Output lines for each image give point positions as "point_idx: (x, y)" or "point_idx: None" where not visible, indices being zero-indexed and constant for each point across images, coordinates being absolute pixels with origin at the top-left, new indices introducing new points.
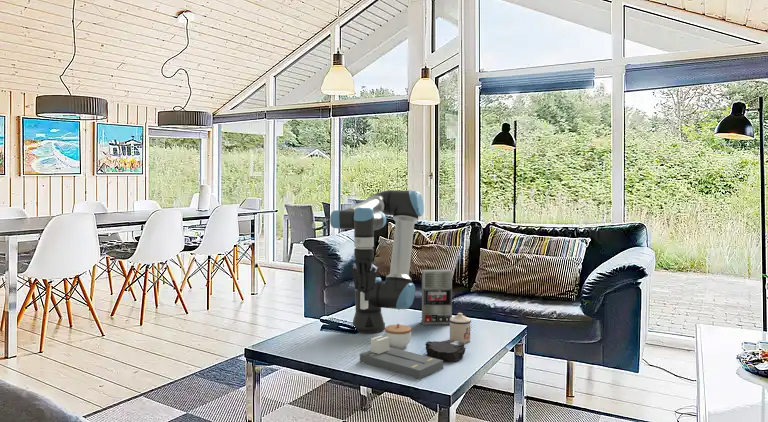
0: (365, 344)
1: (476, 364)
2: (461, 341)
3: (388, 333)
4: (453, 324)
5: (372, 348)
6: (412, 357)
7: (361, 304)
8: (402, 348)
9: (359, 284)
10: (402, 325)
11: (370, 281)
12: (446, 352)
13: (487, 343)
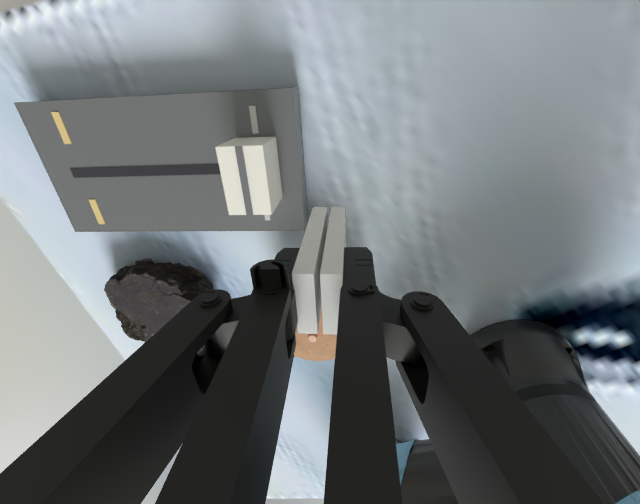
0: (418, 248)
1: (83, 294)
2: None
3: None
4: None
5: (264, 139)
6: (144, 194)
7: (332, 220)
8: None
9: (359, 341)
10: (322, 353)
11: (100, 397)
12: (113, 279)
13: None
